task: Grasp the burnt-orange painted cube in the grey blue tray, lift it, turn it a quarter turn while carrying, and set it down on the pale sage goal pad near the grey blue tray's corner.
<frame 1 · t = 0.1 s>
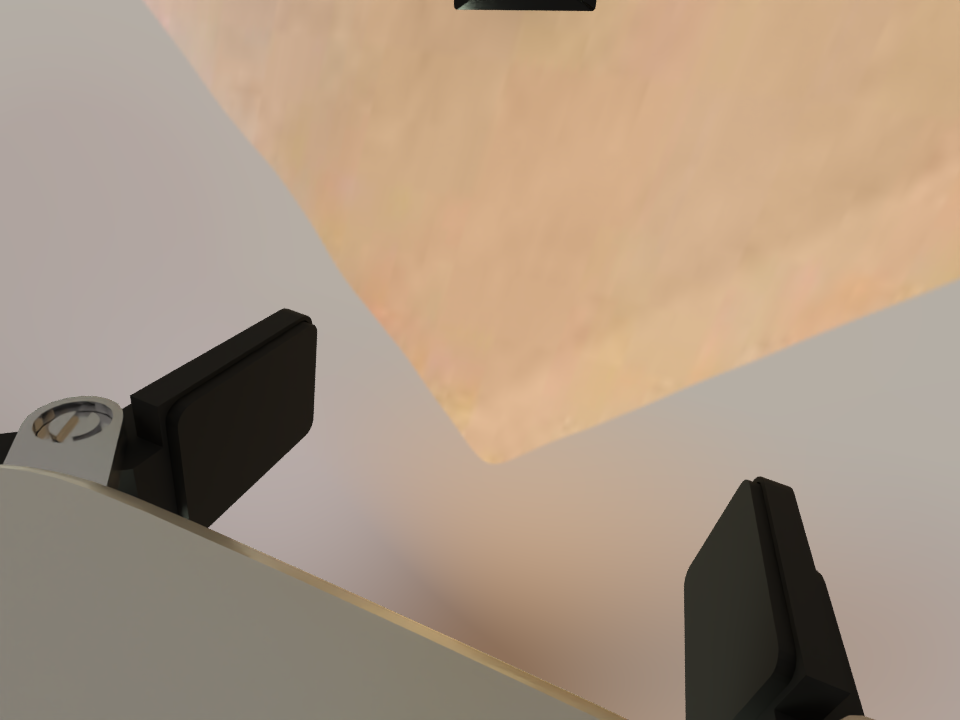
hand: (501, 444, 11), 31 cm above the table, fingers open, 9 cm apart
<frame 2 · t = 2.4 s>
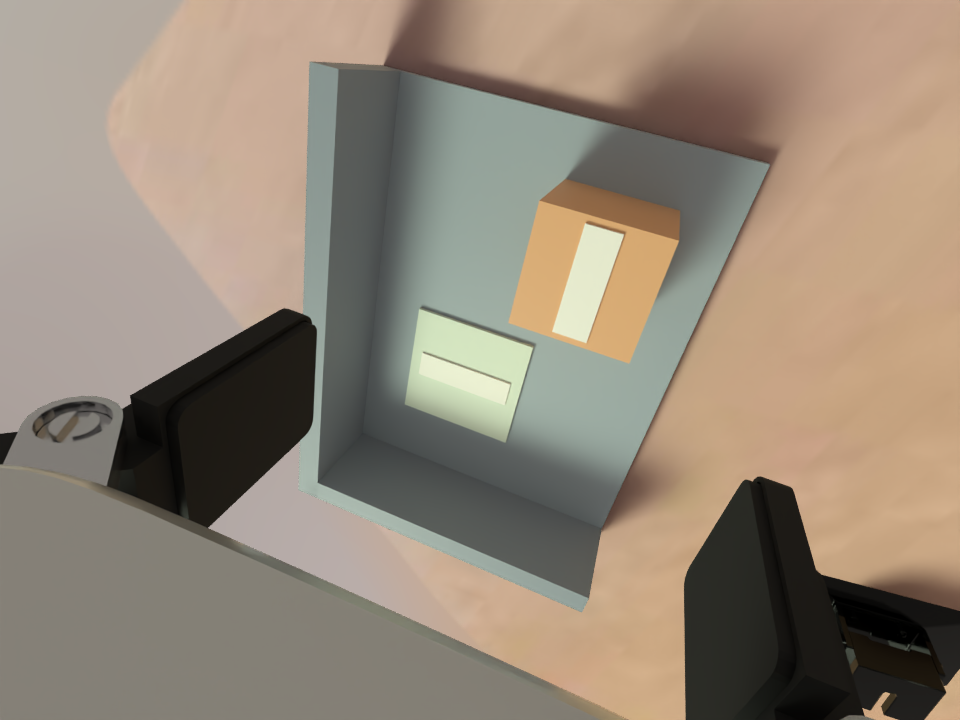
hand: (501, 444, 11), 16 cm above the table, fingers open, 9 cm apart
grey blue tray: (505, 334, 28), on the table
black hollow angular block: (862, 614, 30), on the table
cube: (603, 249, 24), point 1 cm above the table, touching grey blue tray
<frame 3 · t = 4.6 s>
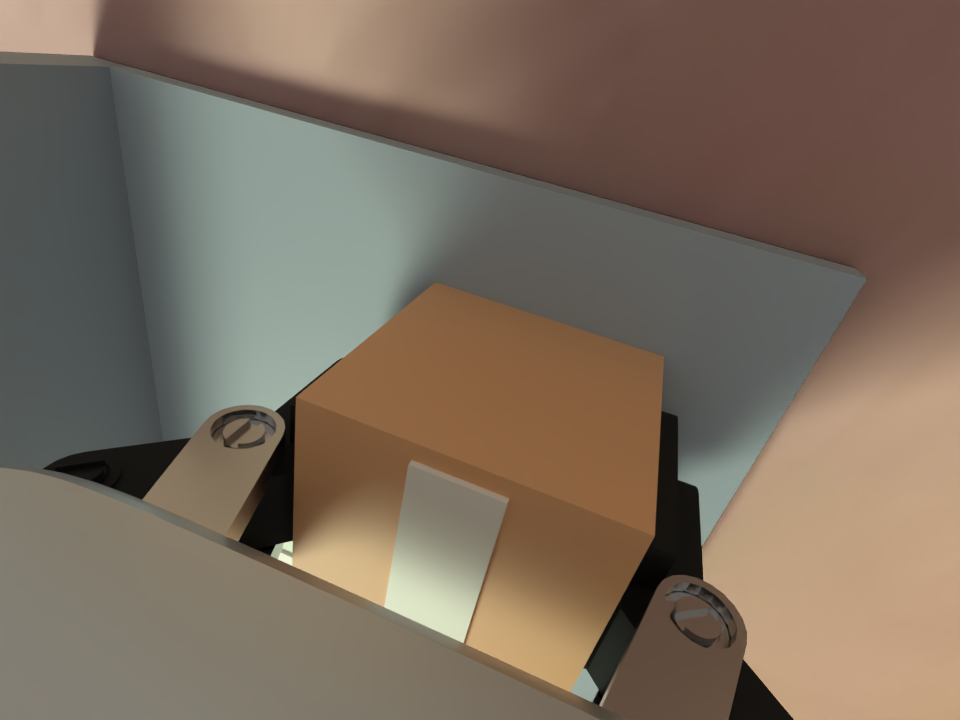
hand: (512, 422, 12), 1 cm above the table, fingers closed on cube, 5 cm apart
grey blue tray: (372, 515, 17), on the table
cube: (517, 412, 12), point 1 cm above the table, touching grey blue tray, gripper
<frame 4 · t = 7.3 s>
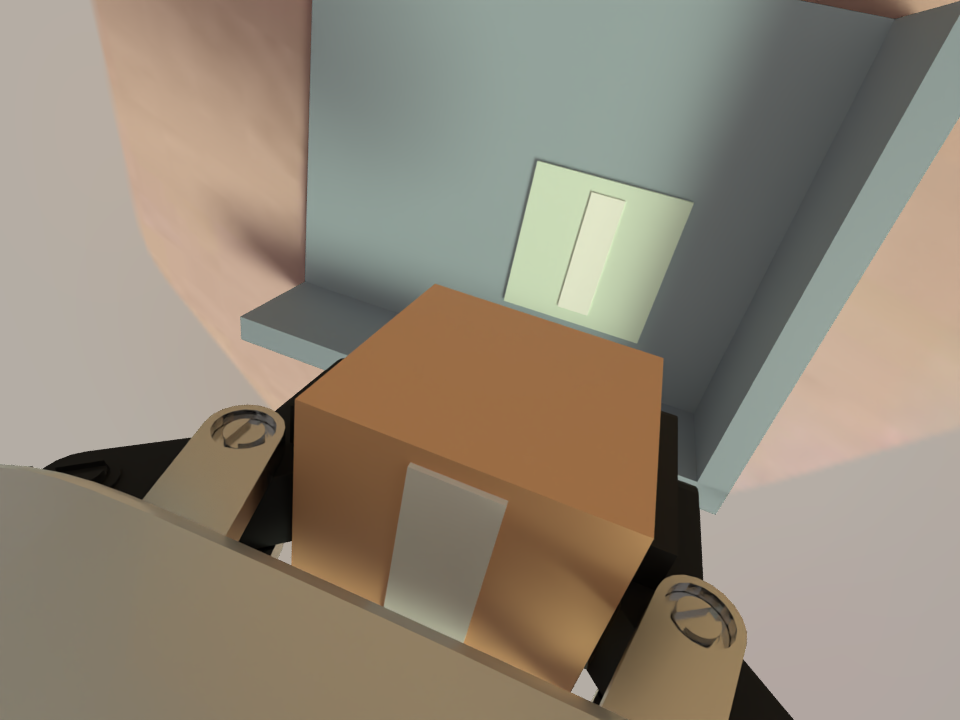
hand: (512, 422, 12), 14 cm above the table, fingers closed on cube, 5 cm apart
grey blue tray: (536, 199, 23), on the table
cube: (517, 413, 12), point 13 cm above the table, touching gripper
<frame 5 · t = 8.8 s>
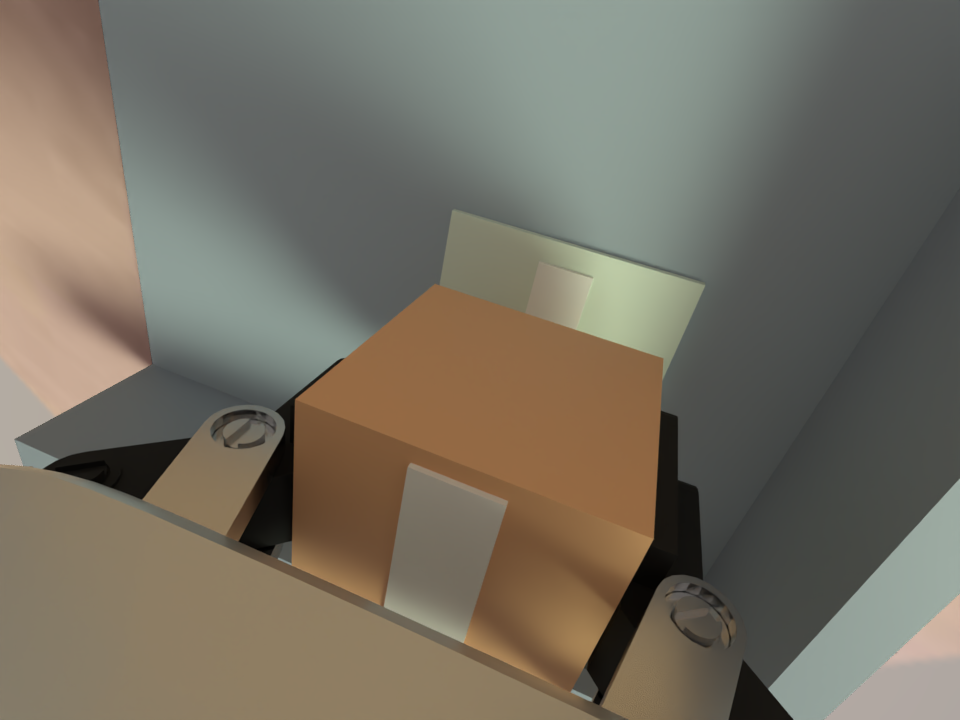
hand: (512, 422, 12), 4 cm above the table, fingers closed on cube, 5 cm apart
grey blue tray: (458, 265, 15), on the table
cube: (517, 413, 12), point 4 cm above the table, touching gripper
when the fingers open (3 cm above the table, at t = 9.9 s): cube drops 1 cm, resting on grey blue tray.
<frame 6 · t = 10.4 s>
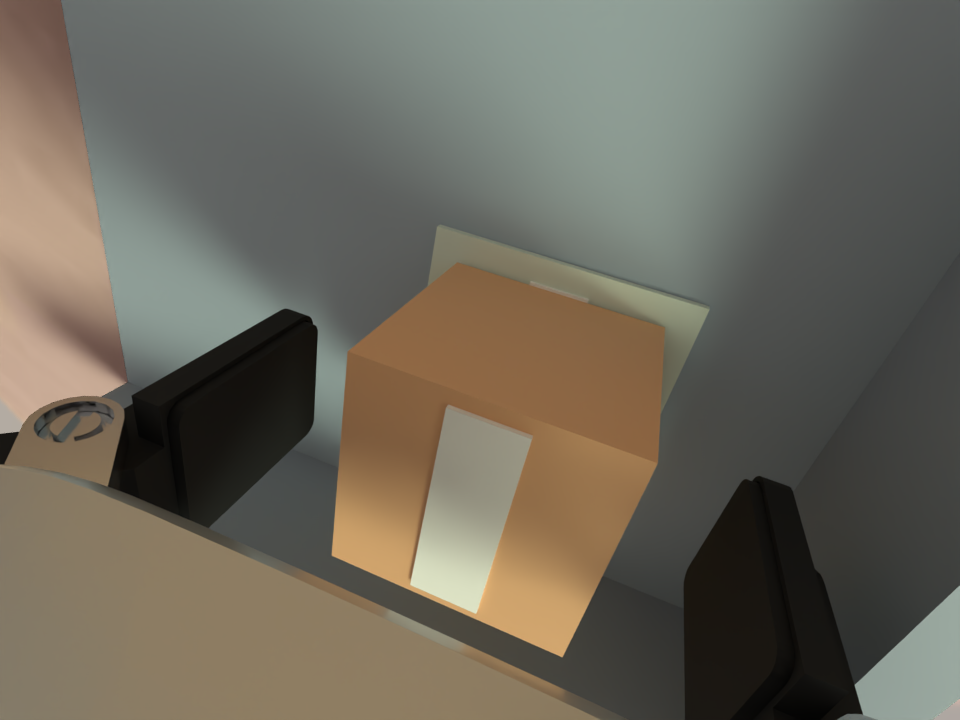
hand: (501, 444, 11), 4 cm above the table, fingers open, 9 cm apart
grey blue tray: (445, 283, 14), on the table
cube: (531, 382, 13), point 1 cm above the table, touching grey blue tray
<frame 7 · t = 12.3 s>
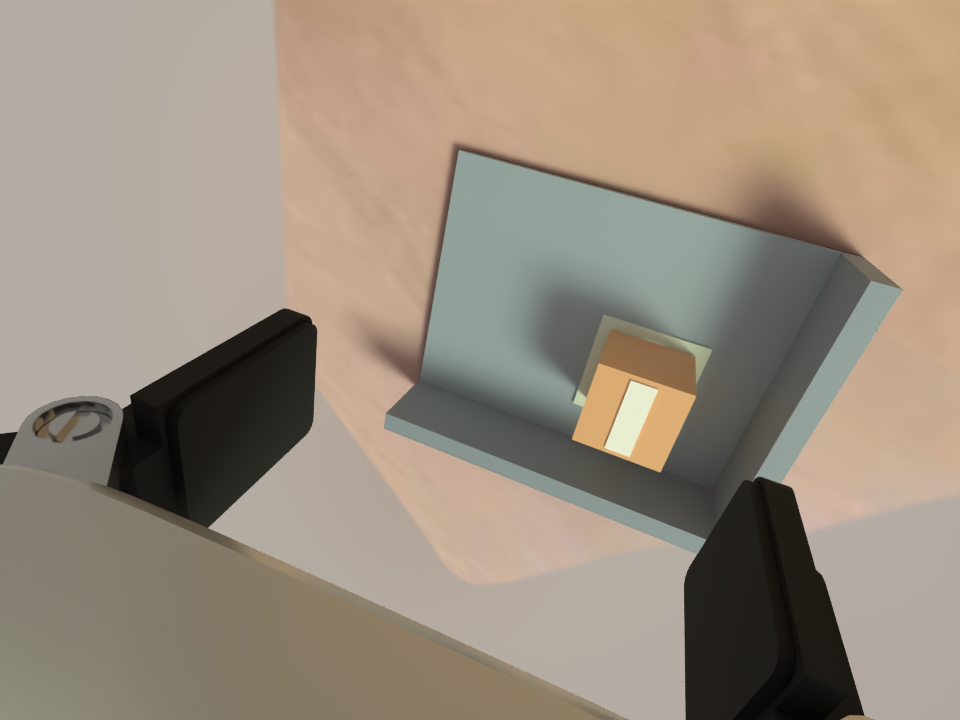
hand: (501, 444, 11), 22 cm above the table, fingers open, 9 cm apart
grey blue tray: (599, 336, 33), on the table
cube: (637, 378, 32), point 1 cm above the table, touching grey blue tray
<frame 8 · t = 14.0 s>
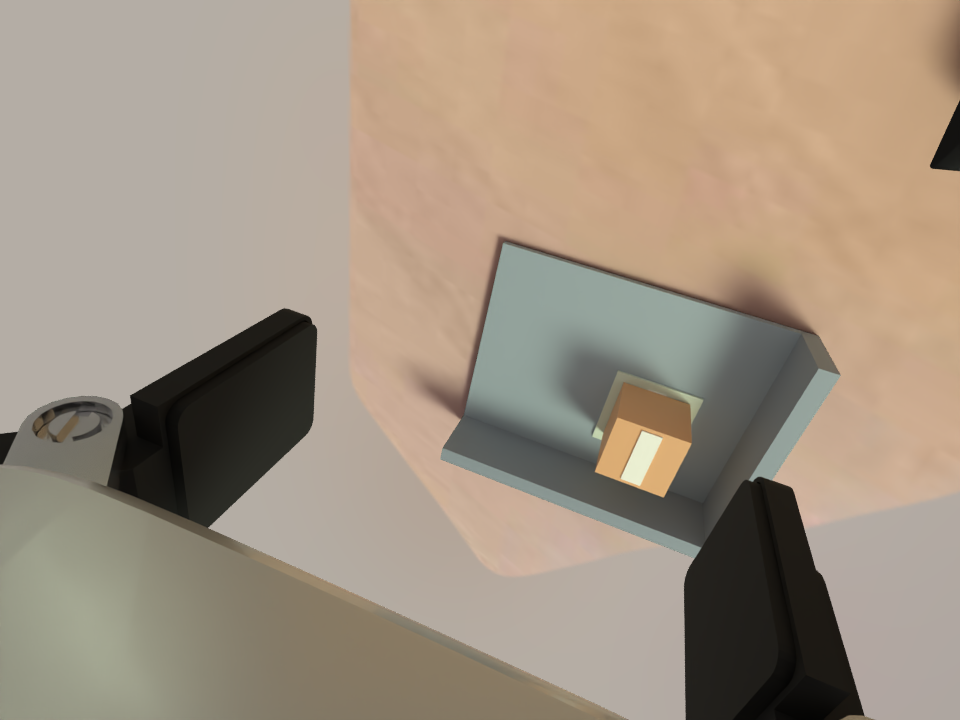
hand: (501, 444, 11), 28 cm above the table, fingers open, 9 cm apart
grey blue tray: (614, 385, 41), on the table
cube: (644, 419, 41), point 1 cm above the table, touching grey blue tray
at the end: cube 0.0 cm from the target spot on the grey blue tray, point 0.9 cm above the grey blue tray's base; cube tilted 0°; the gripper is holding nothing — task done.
